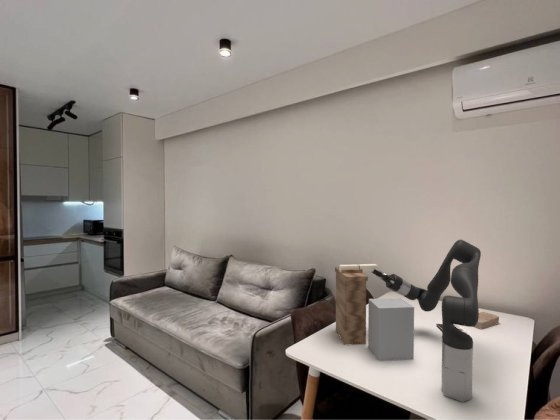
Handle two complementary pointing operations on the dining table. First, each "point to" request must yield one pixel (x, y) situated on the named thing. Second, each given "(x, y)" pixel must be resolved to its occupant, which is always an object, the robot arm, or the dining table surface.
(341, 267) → the domino bar
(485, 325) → the brick
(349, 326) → the walnut shelf
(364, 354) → the dining table surface
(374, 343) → the grey step block
